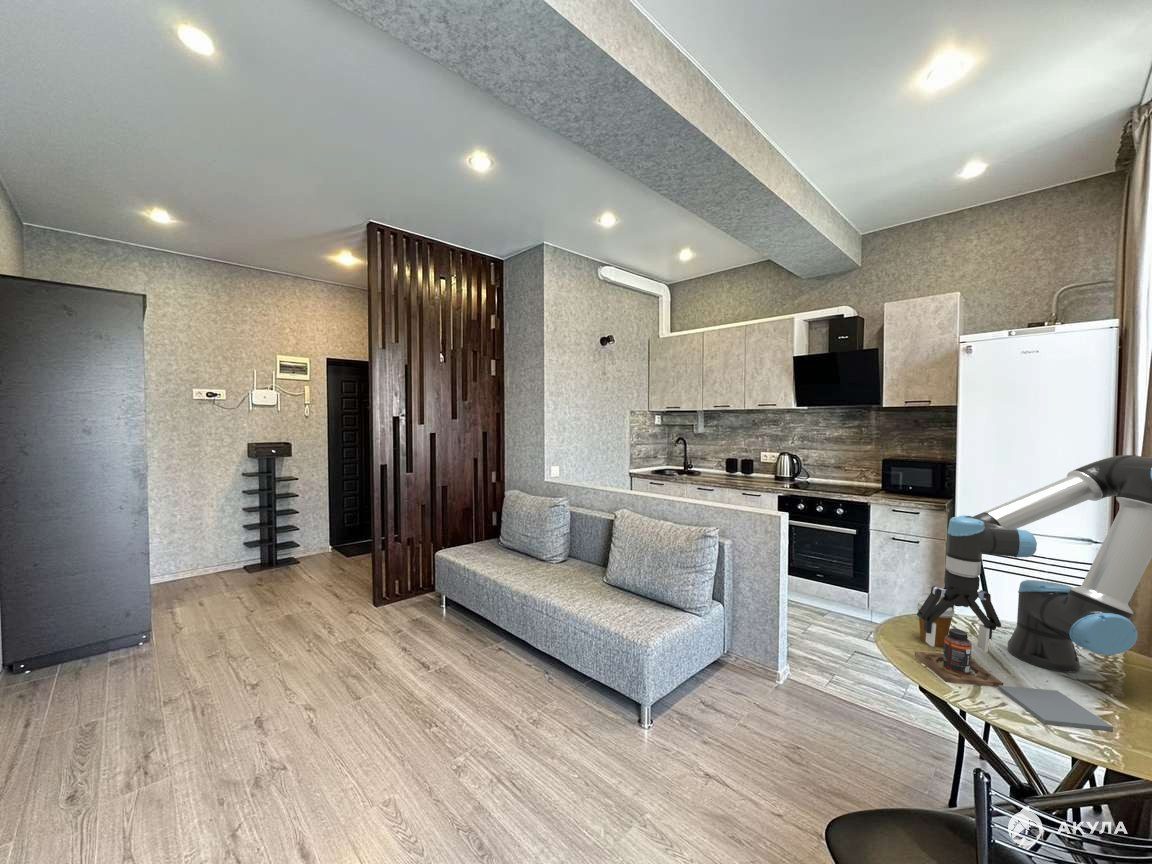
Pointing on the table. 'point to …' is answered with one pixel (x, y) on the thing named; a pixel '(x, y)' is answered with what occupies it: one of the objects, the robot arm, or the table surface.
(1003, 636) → the table surface
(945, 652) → the supplement bottle
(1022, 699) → the slate pad
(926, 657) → the socket board
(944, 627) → the disposable coffee cup
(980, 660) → the table surface
